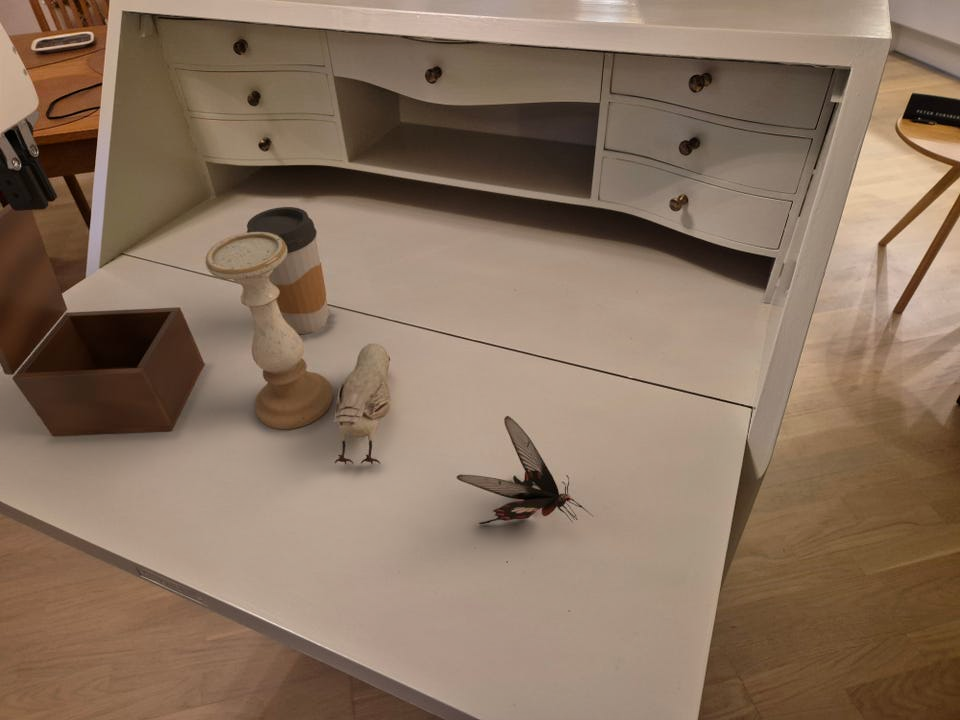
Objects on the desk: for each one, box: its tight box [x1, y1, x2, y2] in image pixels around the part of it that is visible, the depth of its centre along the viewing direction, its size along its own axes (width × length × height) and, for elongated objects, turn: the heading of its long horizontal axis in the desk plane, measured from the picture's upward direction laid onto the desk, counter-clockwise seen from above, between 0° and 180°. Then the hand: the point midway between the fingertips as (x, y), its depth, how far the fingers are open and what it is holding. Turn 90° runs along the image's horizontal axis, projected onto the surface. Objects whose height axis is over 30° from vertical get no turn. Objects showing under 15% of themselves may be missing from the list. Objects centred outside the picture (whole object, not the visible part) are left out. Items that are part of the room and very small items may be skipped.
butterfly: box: [456, 415, 595, 525], centre depth 58 cm, size 11×8×10 cm
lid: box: [0, 203, 68, 376], centre depth 65 cm, size 14×12×1 cm
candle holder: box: [204, 232, 334, 430], centre depth 67 cm, size 9×9×20 cm
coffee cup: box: [246, 206, 330, 335], centre depth 81 cm, size 8×8×15 cm
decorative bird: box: [332, 342, 392, 466], centre depth 69 cm, size 5×16×8 cm, turn 178°
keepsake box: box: [11, 306, 205, 437], centre depth 73 cm, size 14×12×9 cm
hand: (35, 203), depth 59 cm, fingers closed
